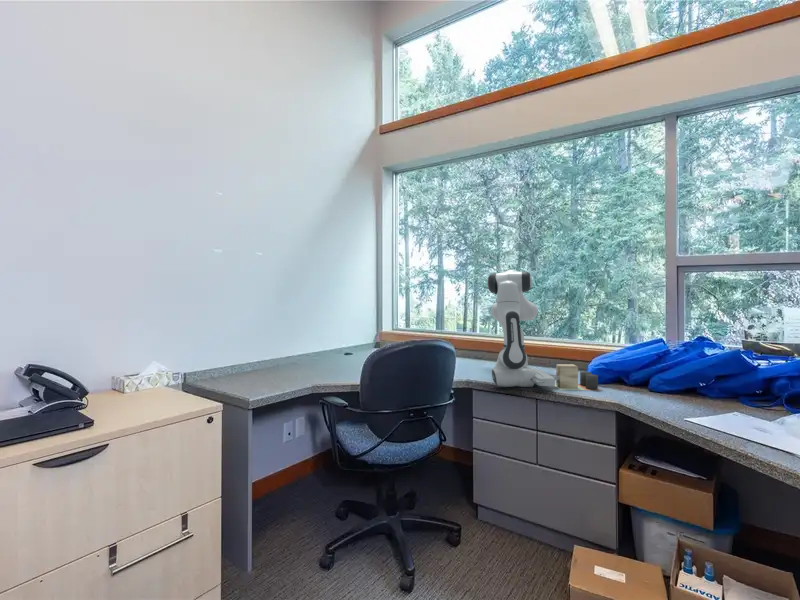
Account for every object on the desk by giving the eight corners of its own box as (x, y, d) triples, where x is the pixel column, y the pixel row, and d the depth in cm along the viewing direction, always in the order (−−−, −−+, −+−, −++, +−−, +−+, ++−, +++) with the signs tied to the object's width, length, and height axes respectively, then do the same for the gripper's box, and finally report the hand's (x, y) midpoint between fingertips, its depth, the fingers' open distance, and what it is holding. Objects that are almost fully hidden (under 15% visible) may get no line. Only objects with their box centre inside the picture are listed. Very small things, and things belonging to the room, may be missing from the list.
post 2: (583, 387, 184) (583, 374, 184) (594, 387, 184) (594, 374, 184) (588, 389, 179) (588, 376, 179) (599, 389, 179) (600, 376, 179)
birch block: (556, 385, 187) (556, 364, 187) (573, 385, 187) (573, 364, 187) (560, 388, 182) (560, 366, 182) (577, 388, 182) (578, 366, 182)
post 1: (578, 384, 190) (578, 371, 190) (588, 384, 190) (589, 371, 190) (582, 386, 185) (582, 373, 185) (593, 386, 185) (593, 373, 185)
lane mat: (536, 384, 191) (536, 383, 191) (589, 385, 190) (589, 383, 190) (545, 391, 179) (545, 390, 179) (601, 391, 178) (601, 390, 178)
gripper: (534, 375, 175) (566, 375, 174) (521, 366, 195) (550, 366, 195) (534, 389, 175) (566, 389, 174) (521, 379, 195) (550, 379, 195)
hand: (557, 377), depth 185 cm, fingers closed, pressing on birch block
